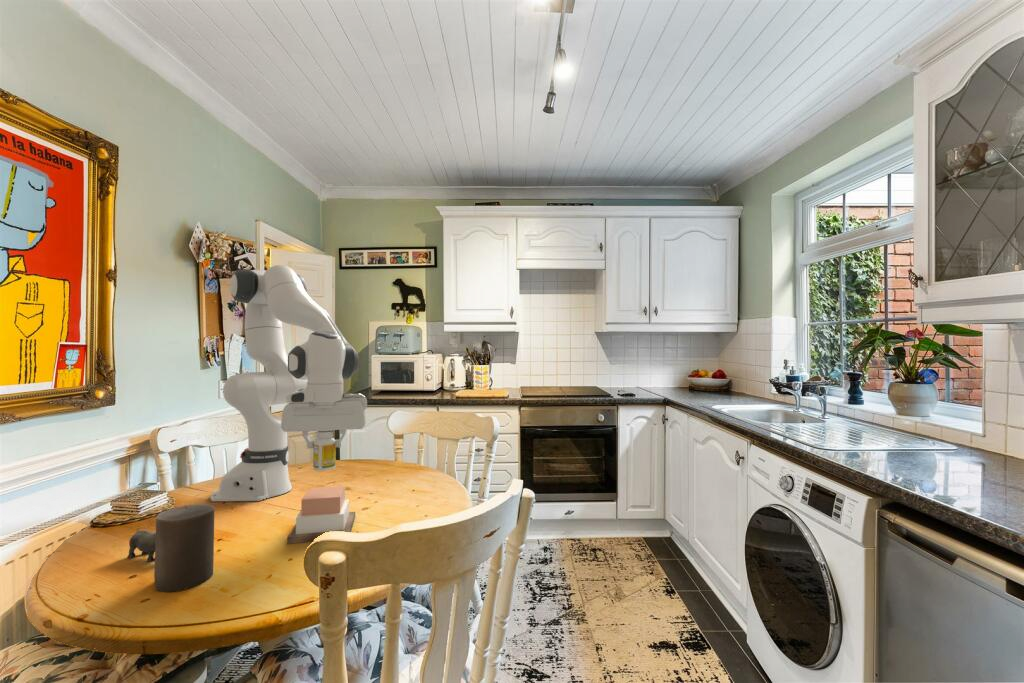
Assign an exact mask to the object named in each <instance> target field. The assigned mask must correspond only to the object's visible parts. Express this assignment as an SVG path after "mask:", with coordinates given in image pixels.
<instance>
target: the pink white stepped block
mask: <svg viewBox="0 0 1024 683" xmlns="http://www.w3.org/2000/svg"><path fill="white" fill-rule="evenodd" d="M345 497H346V486H345V485H343V486H342V485H341V486H340V485H338V486H325V487H311V488H308V489H307V490H306V493H305V494H304V495H303V497H302V499H301V509H300V511H299V512H298V514H297V515H296V517H295V524H296V534H305V533H317V532H328V531H340V530H344V528H345V525H346V522H347V518H348V515H349V512H350V499H349V498H348V499H346V498H345Z"/></svg>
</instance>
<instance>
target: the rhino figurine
mask: <svg viewBox="0 0 1024 683" xmlns="http://www.w3.org/2000/svg"><path fill="white" fill-rule="evenodd" d="M128 543H129V544H128V545H129V551H128V555H127V557H126V558H127V559H133V558H136V553H135V550H139V552H141V555H143V556H147V555H148V557H147V558H146V561H145V562H146V563H152V562H155V544H156V532H152V531H150V530H147V529H139V530H137V531H136V532H135V533H134V534H133V535H131V537H130V538H129V542H128Z"/></svg>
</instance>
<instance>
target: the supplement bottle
mask: <svg viewBox="0 0 1024 683" xmlns="http://www.w3.org/2000/svg"><path fill="white" fill-rule="evenodd" d="M333 436H334V430H323V431H316V439H314V444H313V448H312V450H313V454H312V455H313V456H312V457H313V458H312V468H313V470H314V471H319V472H321V471H322V472H323V471H329V470H333V469H335V468H336V466H337V464H336V456H337V455H336V454H337V452H336V451H337V447H335V445H336V444H335V440H336V439H335V438H334V437H333Z"/></svg>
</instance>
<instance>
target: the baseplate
mask: <svg viewBox="0 0 1024 683" xmlns="http://www.w3.org/2000/svg"><path fill="white" fill-rule="evenodd" d="M355 520H356V511H349V515H348V518H347V522H346V525H345V528H344V530H340V531H345V532H351V533H352V530H353V526H354V523H355ZM328 532H329V531H328ZM323 533H325V532H317V533H305V534H296V523H295V525H294V526H293V528H292V530H291V531H290V533H289V534H288V536H287V540H286V541H287V544H288V545H289V544H298V543H309V542H314V541H313V540H314V539H315V538H317V537H318V536H320V535H322V534H323Z"/></svg>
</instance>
